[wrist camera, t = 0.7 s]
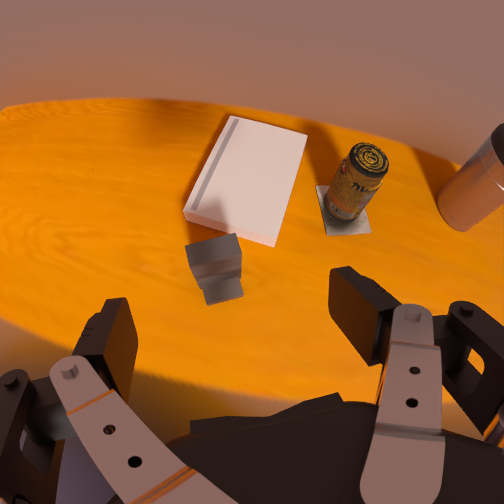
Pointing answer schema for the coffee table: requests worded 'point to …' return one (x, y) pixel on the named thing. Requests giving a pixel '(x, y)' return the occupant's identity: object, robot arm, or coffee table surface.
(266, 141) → the board
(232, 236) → the dark block with lip
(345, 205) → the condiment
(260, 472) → the robot arm
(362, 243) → the coffee table surface
